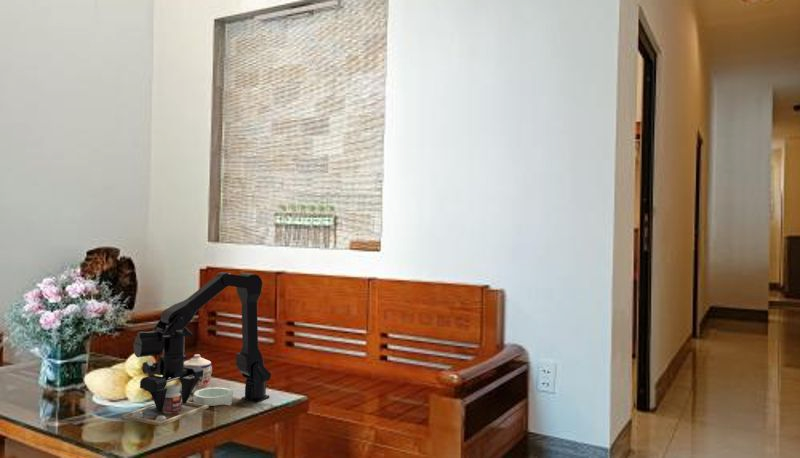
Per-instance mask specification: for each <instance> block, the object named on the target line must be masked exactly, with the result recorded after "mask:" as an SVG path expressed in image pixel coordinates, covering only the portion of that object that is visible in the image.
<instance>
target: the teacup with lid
mask: <svg viewBox="0 0 800 458" xmlns="http://www.w3.org/2000/svg"><path fill="white" fill-rule="evenodd" d="M188 365H193V366H199V367H201V368H202V369H203V376H202V377H199V378H200V380H199V381H198V382H197V384H196V385H195V387H194V389H193V390H192V392H191V394H194V393H195V392H196V391H198V390H201V389H206V388H211V375H212V373H213V367H212V362H211V361H210V360H208V359H205V358H204V357H201V355H200V354H199V353H198V354H197V353H196V354H194V355H193V357H191V358H190V359H187V360H184V366H188Z"/></svg>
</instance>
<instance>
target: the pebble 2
mask: <svg viewBox="0 0 800 458" xmlns="http://www.w3.org/2000/svg"><path fill="white" fill-rule="evenodd" d="M164 420H167V417H166V416H165V415H158V416H157V417H156V418H155V419H154V421H159V422H162V421H164Z"/></svg>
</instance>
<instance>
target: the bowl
mask: <svg viewBox="0 0 800 458" xmlns="http://www.w3.org/2000/svg"><path fill="white" fill-rule="evenodd" d="M233 393H234V392H233V390H232V389H230V388H228V387H210V388H206V389H201V390H198V391H196V392H195V393H192V395H193V400H192V401H193V402H194V403H199V404H205V405H208V407H210V406H211V407H212V406H214V407H215V406H220V405H226V406H232V404H233V398H234V397H233Z"/></svg>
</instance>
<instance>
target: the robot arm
mask: <svg viewBox="0 0 800 458" xmlns="http://www.w3.org/2000/svg"><path fill="white" fill-rule="evenodd" d="M228 287H235V289H236V293H237V295H238V298H239V300H240V303H241V335H242V336H241V339H242V340H241V341H242V343H241V344H242V347H241V350H240V352H236V353H235V359H236V361H235V366H236V367H237V371H239V372H240V374H241V377H242V378H243V379H245V385H244V396H243V397H240V399H241V400H243V401H250V402H255V403H259V402H261V401H263V400H266V399H268V398H270V396H271V395H268V394H267V393H266V392H267V387H266V386H267V382H268V381H270V379H271V376H272V373H271V372H270V371H269V370H268V369H267V368H266V367H265V364H264V358H263V355H262V352H261V350H260V348H259V328H258V327H259V326H258V323H259V322H258V301H259V299H260V297H261V294H262V289H263V279H262V278H261V277H260V275H258V274H256V273H248V272H242V273H240V274H239V275H237V274H232V273H229V272H224V271H221V272H218V273H217V274H216V275H215V276H214V277H212V278H211V280H209V281H208V282H207V283H205V284H204V285H203V286H201V287H200V288H199V289H198V290H197V291H195V292H194V293H193V294H191V295H190V296H189V297H188V298H186V299H184V300H182V301H179V302H177V303H174V304H173V305H171V306H169V307H168V308H165V309H164V310H163V311H162V313H161V314H160V319H159V321H158V322H157V324H155V327H153V329H152V331H138V332H137V335H136V337H135V339H134V342H133V346H132V347H133V353H134V355H135V357H136V358H143V357H144V358H145V357H151V356H159V355H160V354H161V353H162V355H161V356H159V357H158V361H157V362H156V361H155V362H152V360H149V361H145V362H143V363H142V373H143V374H144V375H146V374H147V376H144V377H142V378H141V379H140V382H139V389H143V390H144V391H146V392H148V393H149V394H150V395H151V397H152V399H153V401H154V404H155V405H156V408H155V409H156V410H157V412H158V413H162V412H163V405H164V401H165V396H166V391H167V389H166V388H165V387H166V386H168V385H167V383H170V382H173V381H177V380H178V381H179V383H180V384H181V400H182V403H184V404H183V405H185V403H186V402H187V401H188V400H189V398H190V396H191V394H192V393H191V392H192V390H193V389H194V387H195V385H196V384H197V382H198V381H199V380H200V378H199V377H202V376H203V369H202V368H201V367H199V366H193V365H188V366H184V362H185V361H187V360H188V355H185V338H186V337H192V336H193V333H192V332H191V331H190V330H189V329H188V328H187V327H186V326H188V324H189V323H191V322H192V320H193V319H194V317H195V316H196V313H197V312H198V311H199V310H200V309H201V308H203V307H204V306H205V305H206V304H207V303H209V302H210V301H211V300H212V299H214V298H215V297H216V296H217V295H219V294H220V293H221V292H223V291H224V290H225V289H226V288H228Z"/></svg>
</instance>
